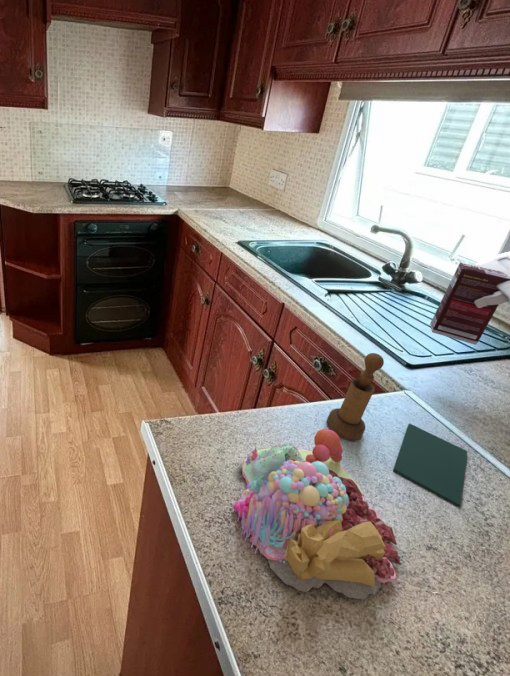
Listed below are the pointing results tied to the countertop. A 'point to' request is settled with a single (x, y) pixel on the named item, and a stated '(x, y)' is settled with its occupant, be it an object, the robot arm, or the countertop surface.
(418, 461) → the rubber mat
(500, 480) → the countertop surface
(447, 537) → the countertop surface
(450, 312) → the supplement box
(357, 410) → the mortar and pestle
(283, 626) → the countertop surface
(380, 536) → the candy landscape model
